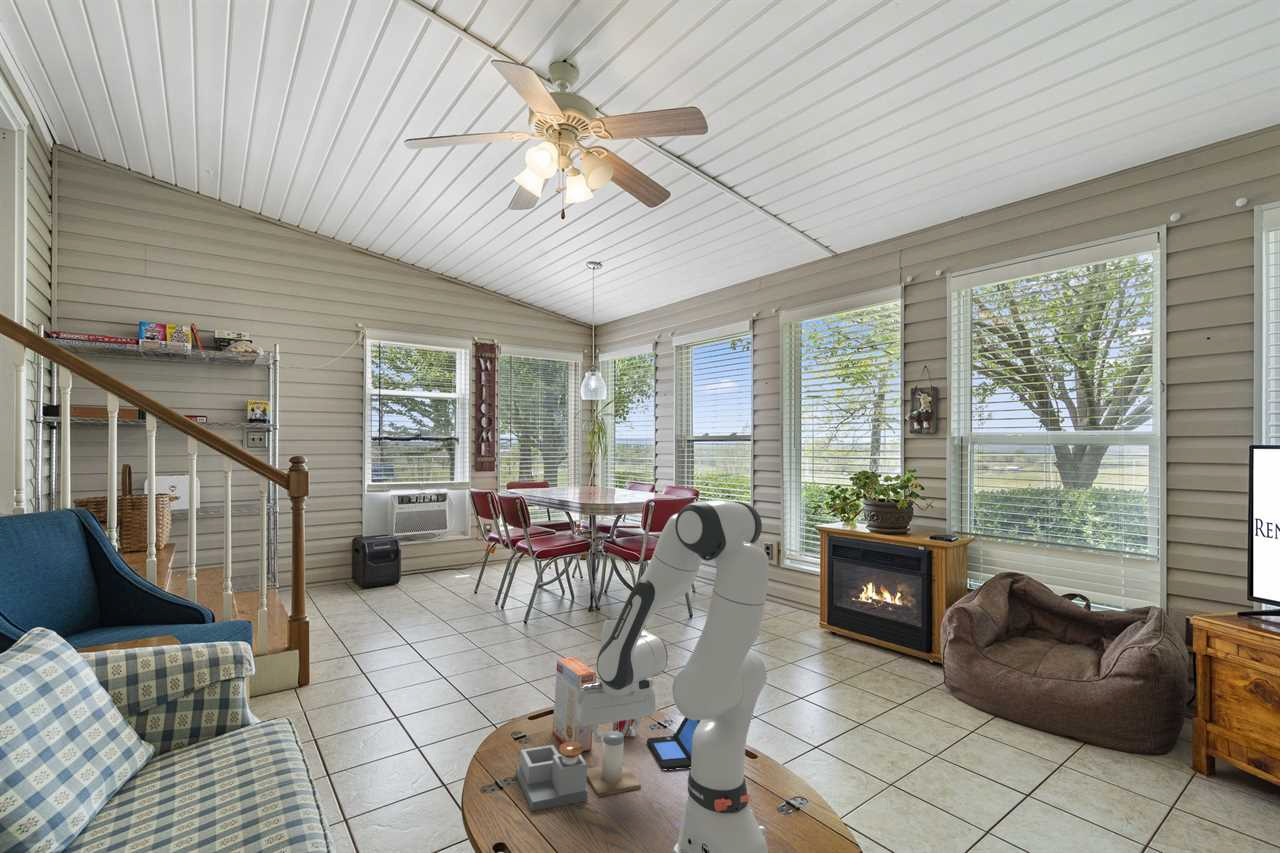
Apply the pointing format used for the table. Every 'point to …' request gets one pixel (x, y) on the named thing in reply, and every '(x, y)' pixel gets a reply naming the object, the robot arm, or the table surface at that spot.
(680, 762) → the handheld game console
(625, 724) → the soda can
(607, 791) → the square wooden board
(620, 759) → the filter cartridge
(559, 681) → the cracker box
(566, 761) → the copper-capped cylinder
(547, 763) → the grey caddy organizer
